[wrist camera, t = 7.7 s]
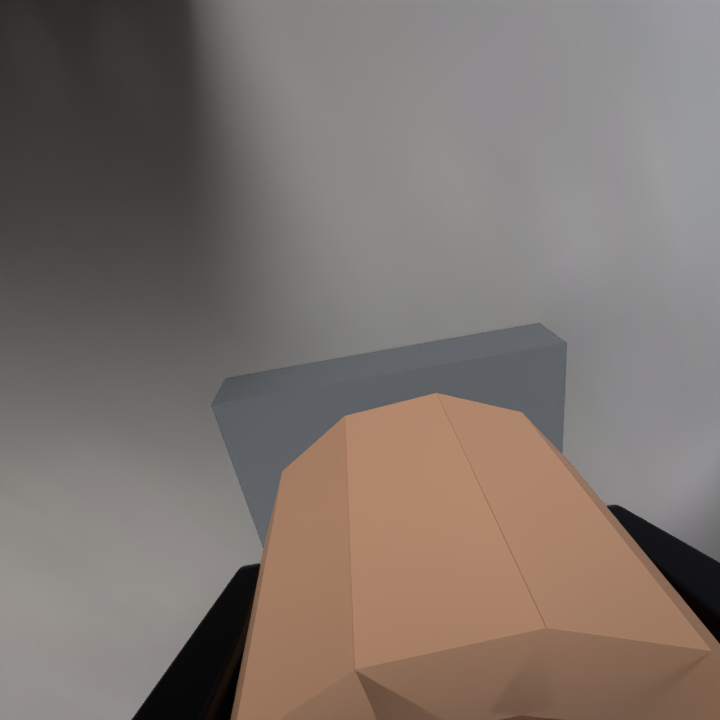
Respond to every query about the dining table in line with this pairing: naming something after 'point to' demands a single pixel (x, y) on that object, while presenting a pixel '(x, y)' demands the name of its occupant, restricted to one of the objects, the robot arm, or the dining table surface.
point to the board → (382, 397)
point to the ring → (461, 584)
